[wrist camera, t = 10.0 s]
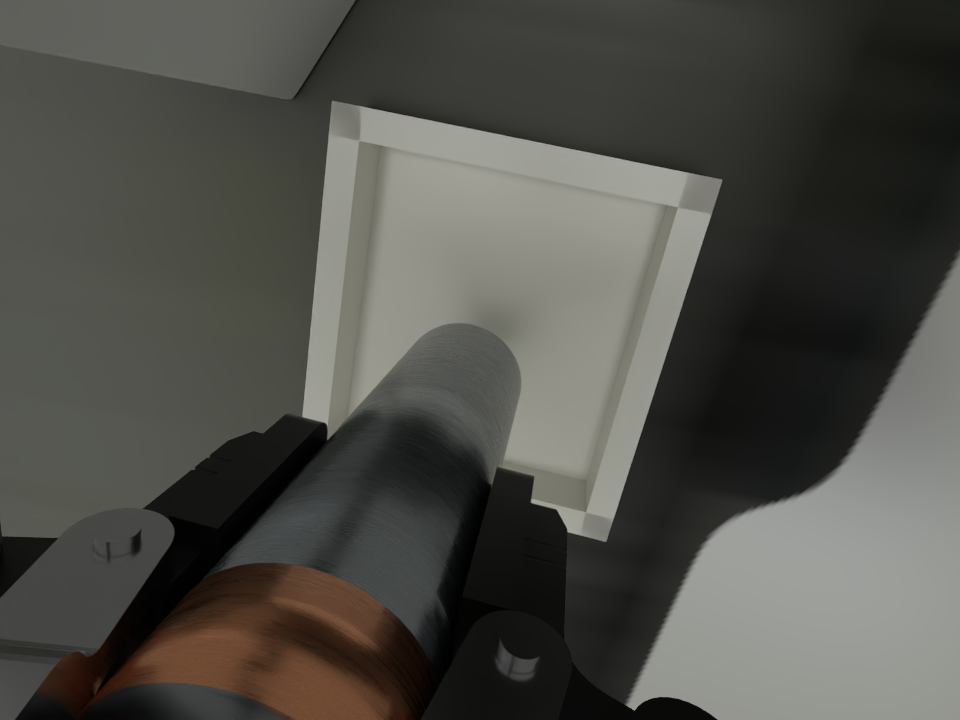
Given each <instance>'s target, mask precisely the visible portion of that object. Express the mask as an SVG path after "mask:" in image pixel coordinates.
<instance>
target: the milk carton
mask: <svg viewBox="0 0 960 720" xmlns="http://www.w3.org/2000/svg"><path fill="white" fill-rule="evenodd" d="M355 1H356V0H0V45H4V46H9V47H14V48H19V49H24V50H30V51H35V52H40V53H45V54H51V55H56V56H61V57H66V58H72V59H77V60H82V61H87V62H92V63H98V64H103V65H108V66H113V67H119V68H124V69H129V70H134V71H140V72H145V73H150V74H155V75H160V76H166V77H171V78H176V79H181V80H187V81H192V82H197V83H202V84H208V85H213V86H218V87H223V88H228V89H234V90H239V91H244V92H249V93H255V94H260V95H265V96H270V97H276V98H281V99H287V100H290V99H292V98H293V97H294V96H295V95H296V94H297V92H298V91H299V89H300V88H301V86H302V85H303V83H304V81H305V80H306V78H307V77H308V75H309V74H310V72H311V70H312V69H313V67H314V66H315V64H316V62H317V61H318V59H319V58H320V56H321V55H322V53H323V51H324V50H325V48H326V47H327V45H328V43H329V42H330V40H331V39H332V37H333V36H334V34H335V32H336V31H337V29H338V28H339V26H340V24H341V23H342V21H343V20H344V18H345V16H346V15H347V13H348V12H349V10H350V9H351V7H352V5H353V4H354V2H355Z"/></svg>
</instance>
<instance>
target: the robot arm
mask: <svg viewBox="0 0 960 720" xmlns="http://www.w3.org/2000/svg"><path fill="white" fill-rule="evenodd" d="M327 436H328V429H327V425H326V423H324V422H320V421H316V420H312V419H308V418H304V417H300V416H296V415H292V414H286V415H284V416H283V417H282V418H281V419H280V420H278V421H277V422H276V423H275V424H274V425H273V426H272V427H270V428H269V429H268V430H267V431H266V432H265V433H263V434H262V433H258V432H254V431H253V432H250V433H247V434H245V435H242V436H239V437H237V438H234V439H231V440H229V441H227V442H226V443H225V444H223V445H222V446H221V447H220V448H218V449H217V450H216V451H215V452H213V453H212V454H211V455H210V458H206V459H205V460H203V461H202V462H201V463H200V464H198V465H197V466H196V467H195V470H191V471H190V472H188V473H187V474H186V475H185V476H183V477H182V478H181V479H180V480H178V481H177V482H176V483H175V484H173V485H172V486H171V487H170V488H168V489H167V490H166V491H165V492H163V493H162V494H161V495H160V496H158V497H157V498H156V499H155V500H153V501H152V502H151V503H150V504H148V505H147V506H146V507H145V508H143V509H136V508H124V509H115V510H109V511H104V512H101V513H98V514H94V515H92V516H89V517H87V518H85V519H83V520H81V521H79V522H77V523H75V524H74V525H72V526H71V527H70V528H68V529H67V530H66V531H65V532H64V533H63V534H62V535H61V536H60V537H59V538H34V537H2V533H1V524H0V720H78V713H79V712H80V711H81V710H82V709H83V708H84V707H85V706H86V705H87V703H88V702H89V701H90V700H91V699H92V698H93V697H94V696H95V695H96V694H97V692H98V691H99V690H100V689H101V688H102V687H103V686H104V685H105V684H106V683H107V681H108V680H109V679H110V678H111V677H112V676H113V675H114V674H115V673H116V671H117V670H118V669H119V668H120V667H121V666H122V665H123V664H124V663H125V662H126V660H127V659H128V658H129V657H130V656H131V655H132V654H133V653H134V652H135V650H136V649H137V648H138V647H139V646H140V645H141V644H142V643H143V642H144V641H145V639H146V638H147V637H148V636H149V635H150V634H151V633H152V632H153V631H154V630H155V628H156V627H157V626H158V625H159V624H160V623H161V622H162V621H163V620H164V618H165V617H166V616H167V615H168V614H169V613H170V612H171V611H172V610H173V609H174V607H175V606H176V605H177V604H178V603H179V602H180V601H181V600H182V599H183V597H184V596H185V595H186V594H187V593H188V592H189V591H190V590H191V589H193V588H194V587H195V586H196V585H197V584H198V583H199V582H200V581H201V580H202V579H203V578H204V577H205V576H206V575H207V573H208V572H209V571H210V570H211V569H212V568H213V567H214V566H215V565H216V563H217V562H218V561H219V560H220V559H221V558H222V557H223V556H224V555H225V553H226V552H227V551H228V550H229V549H230V548H231V547H232V546H233V545H234V543H235V542H236V541H237V540H238V539H239V538H240V537H241V536H242V535H243V533H244V532H245V531H246V530H247V529H248V528H249V527H250V526H251V525H252V523H253V522H254V521H255V520H256V519H257V518H258V517H259V516H260V515H261V513H262V512H263V511H264V510H265V509H266V508H267V507H268V506H269V505H270V503H271V502H272V501H273V500H274V499H275V498H276V497H277V496H278V495H279V493H280V492H281V491H282V490H283V489H284V488H285V487H286V486H287V485H288V483H289V482H290V481H291V480H292V479H293V478H294V477H295V476H296V475H297V473H298V472H299V471H300V470H301V469H302V468H303V467H304V466H305V465H306V463H307V462H308V461H309V460H310V459H311V458H312V457H313V456H314V455H315V453H316V452H317V451H318V450H319V449H320V448H321V447H322V446H323V445H324V443H325V442H326V441H327ZM533 484H534V476H532V475H528V474H524V473H520V472H516V471H512V470H509V469H505V468H501V467H497V469H496V472H495V476H494V480H493V483H492V487H491V491H490V495H489V498H488V502H487V506H486V509H485V513H484V517H483V521H482V524H481V528H480V532H479V535H478V539H477V543H476V546H475V550H474V554H473V558H472V561H471V565H470V569H469V572H468V576H467V580H466V584H465V587H464V591H463V595H462V599H461V603H460V608H459V612H458V616H457V621H456V625H455V629H454V634H453V657H452V663H451V665H450V667H449V669H448V671H447V672H446V674H445V676H444V678H443V680H442V682H441V683H440V685H439V687H438V689H437V691H436V692H435V694H434V696H433V698H432V700H431V702H430V703H429V705H428V707H427V709H426V711H425V712H424V714H423V716H422V718H421V720H717V719H716V718H714V717H713V716H712V715H710V714H709V713H707V712H706V711H704V710H702V709H701V708H699V707H697V706H695V705H693V704H691V703H689V702H686V701H682V700H680V699H675V698H669V697H658V698H652V699H650V700H647V701H645V702H643V703H642V704H641V705H639V706H638V707H637V709H636V710H635V711H634V710H632V709H631V708H629V707H627V706H626V705H624V704H622V703H620V702H619V701H617V700H615V699H614V698H612V697H610V696H608V695H607V694H605V693H604V692H602V691H601V690H599V689H598V688H596V687H595V686H594V685H593V684H591V683H590V682H589V681H588V680H587V679H586V678H585V677H584V676H583V675H582V674H581V673H580V672H579V670H578V669H577V668H576V666H575V665H574V663H573V662H572V658H571V654H570V651H569V649H568V646H567V644H566V643H565V641H564V616H565V587H566V570H565V569H566V557H567V553H566V550H567V528H566V526H565V524H564V522H563V520H562V518H561V517H560V515H559V513H558V511H557V509H553V508H549V507H545V506H541V505H537V504H533V503H531V498H532V491H533Z"/></svg>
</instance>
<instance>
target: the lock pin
mask: <svg viewBox="0 0 960 720" xmlns="http://www.w3.org/2000/svg"><path fill="white" fill-rule="evenodd" d="M520 392H521V373H520V369H519V366H518V363H517V361H516V358H515V357H514V355H513V353H512V351H511V350H510V349H509V347H508V346H507V345H506V344H505V343H504V342H503V341H502V340H501V339H500V338H499V337H497V336H496V335H495V334H493V333H491V332H490V331H488V330H486V329H484V328H481V327H479V326H475V325H471V324H465V323H453V324H446V325H442V326H439V327H436V328H434V329H432V330H430V331H428V332H427V333H425V334H424V335H423V336H421V337H420V338H419V339H418V340H417V341H416V342H415V344H414V345H413V346H412V347H411V348H410V349H409V350H408V351H407V352H406V354H405V355H404V356H403V357H402V358H401V359H400V360H399V361H398V362H397V364H396V365H395V366H394V367H393V368H392V369H391V370H390V371H389V372H388V374H387V375H386V376H385V377H384V378H383V379H382V380H381V381H380V382H379V384H378V385H377V386H376V387H375V388H374V389H373V390H372V391H371V392H370V394H369V395H368V396H367V397H366V398H365V399H364V400H363V401H362V402H361V404H360V405H359V406H358V407H357V408H356V409H355V410H354V411H353V412H352V414H351V415H350V416H349V417H348V418H347V419H346V420H345V421H344V422H343V423H342V425H341V426H340V427H339V428H338V429H337V430H336V431H335V432H334V433H333V435H332V436H331V437H330V438H329V439H328V440H327V441H326V442H325V443H324V445H323V446H322V447H321V448H320V449H319V450H318V451H317V452H316V453H315V455H314V456H313V457H312V458H311V459H310V460H309V461H308V462H307V463H306V465H305V466H304V467H303V468H302V469H301V470H300V471H299V472H298V473H297V475H296V476H295V477H294V478H293V479H292V480H291V481H290V482H289V483H288V485H287V486H286V487H285V488H284V489H283V490H282V491H281V492H280V493H279V495H278V496H277V497H276V498H275V499H274V500H273V501H272V502H271V503H270V505H269V506H268V507H267V508H266V509H265V510H264V511H263V512H262V513H261V515H260V516H259V517H258V518H257V519H256V520H255V521H254V522H253V523H252V525H251V526H250V527H249V528H248V529H247V530H246V531H245V532H244V533H243V535H242V536H241V537H240V538H239V539H238V540H237V541H236V542H235V543H234V545H233V546H232V547H231V548H230V549H229V550H228V551H227V552H226V553H225V555H224V556H223V557H222V558H221V559H220V560H219V561H218V562H217V563H216V565H215V566H214V567H213V568H212V569H211V570H210V571H209V572H208V573H207V575H206V576H205V577H204V578H203V579H202V580H201V581H200V582H199V583H198V584H197V585H196V586H195V587H194V588H193V589H191V590H190V591H189V592H188V593H187V594H186V595H185V596H184V597H183V599H182V600H181V601H180V602H179V603H178V604H177V605H176V606H175V607H174V609H173V610H172V611H171V612H170V613H169V614H168V615H167V616H166V617H165V618H164V620H163V621H162V622H161V623H160V624H159V625H158V626H157V627H156V628H155V630H154V631H153V632H152V633H151V634H150V635H149V636H148V637H147V638H146V639H145V641H144V642H143V643H142V644H141V645H140V646H139V647H138V648H137V649H136V650H135V652H134V653H133V654H132V655H131V656H130V657H129V658H128V659H127V660H126V662H125V663H124V664H123V665H122V666H121V667H120V668H119V669H118V670H117V671H116V673H115V674H114V675H113V676H112V677H111V678H110V679H109V680H108V681H107V683H106V684H105V685H104V686H103V687H102V688H101V689H100V690H99V691H98V692H97V694H96V695H95V696H94V697H93V698H92V699H91V700H90V701H89V702H88V703H87V705H86V706H85V707H84V708H83V709H82V710H81V711H80V712H79V713H78V720H421V718H422V716H423V714H424V712H425V711H426V709H427V707H428V705H429V703H430V702H431V700H432V698H433V696H434V694H435V692H436V691H437V689H438V687H439V685H440V683H441V682H442V680H443V678H444V676H445V674H446V672H447V671H448V669H449V667H450V665H451V663H452V657H453V634H454V629H455V625H456V621H457V616H458V612H459V608H460V603H461V599H462V595H463V591H464V587H465V584H466V580H467V576H468V572H469V569H470V565H471V561H472V558H473V554H474V550H475V546H476V543H477V539H478V535H479V532H480V528H481V524H482V521H483V517H484V513H485V509H486V506H487V502H488V498H489V495H490V491H491V487H492V483H493V480H494V476H495V472H496V469H497V467H501V468H502V464H503V460H504V456H505V452H506V448H507V445H508V441H509V437H510V433H511V429H512V425H513V421H514V417H515V413H516V409H517V405H518V401H519V397H520Z"/></svg>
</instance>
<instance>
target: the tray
mask: <svg viewBox="0 0 960 720" xmlns="http://www.w3.org/2000/svg"><path fill="white" fill-rule="evenodd" d="M721 183H722V180H721V179H716V178H711V177H706V176H701V175H696V174H691V173H687V172H682V171H677V170H672V169H667V168H662V167H657V166H652V165H647V164H642V163H637V162H632V161H627V160H622V159H618V158H613V157H608V156H603V155H598V154H593V153H588V152H583V151H578V150H573V149H568V148H563V147H558V146H553V145H549V144H544V143H539V142H534V141H529V140H524V139H519V138H514V137H509V136H504V135H499V134H494V133H489V132H484V131H480V130H475V129H470V128H465V127H460V126H455V125H450V124H445V123H440V122H435V121H430V120H425V119H420V118H415V117H411V116H406V115H401V114H396V113H391V112H386V111H381V110H376V109H371V108H366V107H361V106H356V105H351V104H346V103H342V102H337V101H332V106H331V117H330V128H329V139H328V149H327V160H326V171H325V181H324V192H323V203H322V213H321V224H320V235H319V245H318V256H317V267H316V278H315V288H314V299H313V310H312V320H311V331H310V342H309V352H308V363H307V374H306V384H305V395H304V406H303V417H304V418H308V419H312V420H316V421H320V422H324V423H326V425H327V429H328V436H327V440H328V439H329V438H330V437H331V436H332V435H333V433H334V432H335V431H336V430H337V429H338V428H339V427H340V426H341V425H342V423H343V422H344V421H345V420H346V419H347V418H348V417H349V416H350V415H351V414H352V412H353V411H354V410H355V409H356V408H357V407H358V406H359V405H360V404H361V402H362V401H363V400H364V399H365V398H366V397H367V396H368V395H369V394H370V392H371V391H372V390H373V389H374V388H375V387H376V386H377V385H378V384H379V382H380V381H381V380H382V379H383V378H384V377H385V376H386V375H387V374H388V372H389V371H390V370H391V369H392V368H393V367H394V366H395V365H396V364H397V362H398V361H399V360H400V359H401V358H402V357H403V356H404V355H405V354H406V352H407V351H408V350H409V349H410V348H411V347H412V346H413V345H414V344H415V342H416V341H417V340H418V339H419V338H420V337H421V336H423V335H424V334H425V333H427V332H428V331H430V330H432V329H434V328H436V327H439V326H442V325H446V324H453V323H465V324H471V325H475V326H479V327H481V328H484V329H486V330H488V331H490V332H491V333H493V334H495V335H496V336H497V337H499V338H500V339H501V340H502V341H503V342H504V343H505V344H506V345H507V346H508V347H509V349H510V350H511V351H512V353H513V355H514V357H515V358H516V361H517V363H518V366H519V369H520V373H521V392H520V397H519V401H518V405H517V409H516V413H515V417H514V421H513V425H512V429H511V433H510V437H509V441H508V445H507V448H506V452H505V456H504V460H503V464H502V468H505V469H509V470H512V471H516V472H520V473H524V474H528V475H532V476H534V484H533V491H532V498H531V503H533V504H537V505H541V506H545V507H549V508H553V509H557V511H558V513H559V515H560V517H561V518H562V520H563V522H564V524H565V526H566V528H567V532H570V533H574V534H577V535H581V536H585V537H589V538H593V539H597V540H601V541H605V542H606V541H607V538H608V535H609V531H610V528H611V525H612V522H613V519H614V516H615V513H616V510H617V507H618V503H619V500H620V497H621V494H622V491H623V488H624V485H625V482H626V479H627V475H628V472H629V469H630V466H631V463H632V460H633V457H634V454H635V451H636V447H637V444H638V441H639V438H640V435H641V432H642V429H643V426H644V423H645V419H646V416H647V413H648V410H649V407H650V404H651V401H652V398H653V395H654V392H655V388H656V385H657V382H658V379H659V376H660V373H661V370H662V367H663V364H664V360H665V357H666V354H667V351H668V348H669V345H670V342H671V339H672V336H673V332H674V329H675V326H676V323H677V320H678V317H679V314H680V311H681V308H682V304H683V301H684V298H685V295H686V292H687V289H688V286H689V283H690V280H691V276H692V273H693V270H694V267H695V264H696V261H697V258H698V255H699V252H700V249H701V245H702V242H703V239H704V236H705V233H706V230H707V227H708V224H709V221H710V217H711V214H712V211H713V208H714V205H715V202H716V199H717V196H718V193H719V189H720V186H721Z"/></svg>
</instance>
